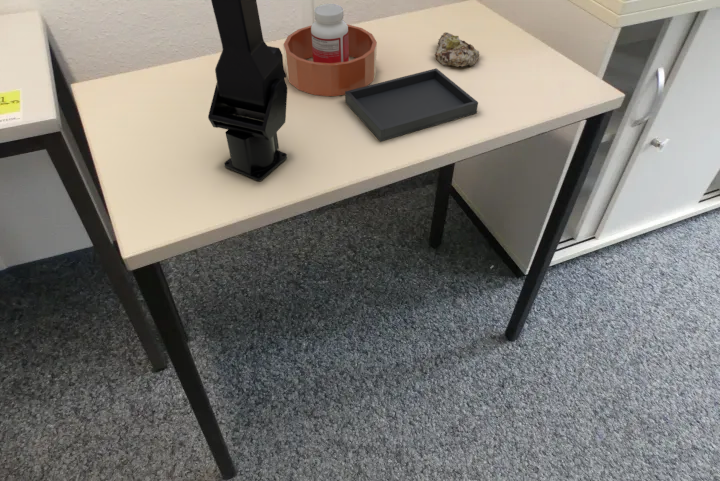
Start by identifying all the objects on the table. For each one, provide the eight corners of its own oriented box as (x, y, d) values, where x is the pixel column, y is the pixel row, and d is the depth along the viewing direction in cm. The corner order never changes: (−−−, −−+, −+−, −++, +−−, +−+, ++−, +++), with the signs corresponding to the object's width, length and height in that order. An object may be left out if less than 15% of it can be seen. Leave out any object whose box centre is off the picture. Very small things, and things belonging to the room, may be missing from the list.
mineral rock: (492, 54, 92) (451, 46, 89) (482, 77, 95) (442, 71, 92) (468, 30, 100) (431, 22, 97) (460, 52, 102) (423, 45, 100)
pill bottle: (334, 61, 95) (332, -2, 87) (356, 74, 92) (355, 10, 84) (306, 71, 93) (301, 8, 85) (327, 85, 89) (324, 20, 81)
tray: (380, 141, 78) (380, 130, 76) (345, 102, 86) (344, 91, 84) (476, 113, 83) (478, 102, 82) (435, 78, 91) (436, 68, 89)
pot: (345, 105, 85) (344, 73, 81) (269, 80, 91) (265, 50, 87) (391, 65, 94) (392, 35, 90) (319, 45, 100) (318, 16, 96)
